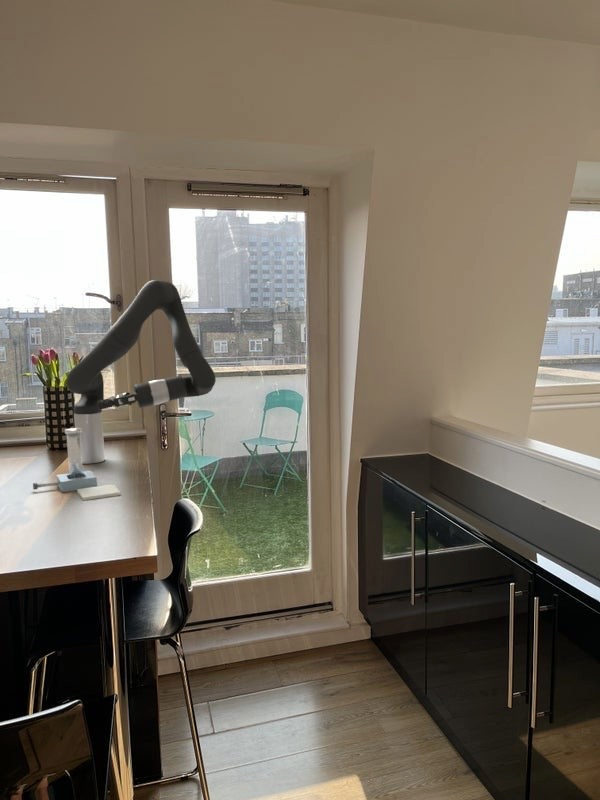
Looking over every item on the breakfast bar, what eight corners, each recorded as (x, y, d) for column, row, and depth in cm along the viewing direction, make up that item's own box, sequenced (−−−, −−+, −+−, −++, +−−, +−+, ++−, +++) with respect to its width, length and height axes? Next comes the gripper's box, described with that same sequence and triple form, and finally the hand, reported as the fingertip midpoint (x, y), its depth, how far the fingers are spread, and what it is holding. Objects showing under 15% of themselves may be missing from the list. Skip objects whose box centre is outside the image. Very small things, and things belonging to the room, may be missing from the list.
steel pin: (67, 485, 184) (63, 429, 182) (83, 483, 187) (80, 427, 185) (69, 488, 180) (66, 431, 178) (86, 486, 183) (82, 429, 181)
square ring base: (32, 487, 182) (31, 478, 182) (91, 480, 190) (90, 470, 190) (35, 495, 174) (34, 485, 173) (97, 487, 182) (96, 477, 181)
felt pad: (77, 491, 177) (77, 489, 177) (113, 487, 182) (112, 484, 182) (83, 500, 168) (83, 497, 168) (120, 494, 173) (120, 492, 173)
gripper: (146, 381, 198) (93, 392, 192) (151, 381, 184) (95, 393, 179) (151, 404, 199) (99, 416, 193) (157, 406, 185) (102, 419, 180)
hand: (97, 405), depth 186 cm, fingers open, 8 cm apart
